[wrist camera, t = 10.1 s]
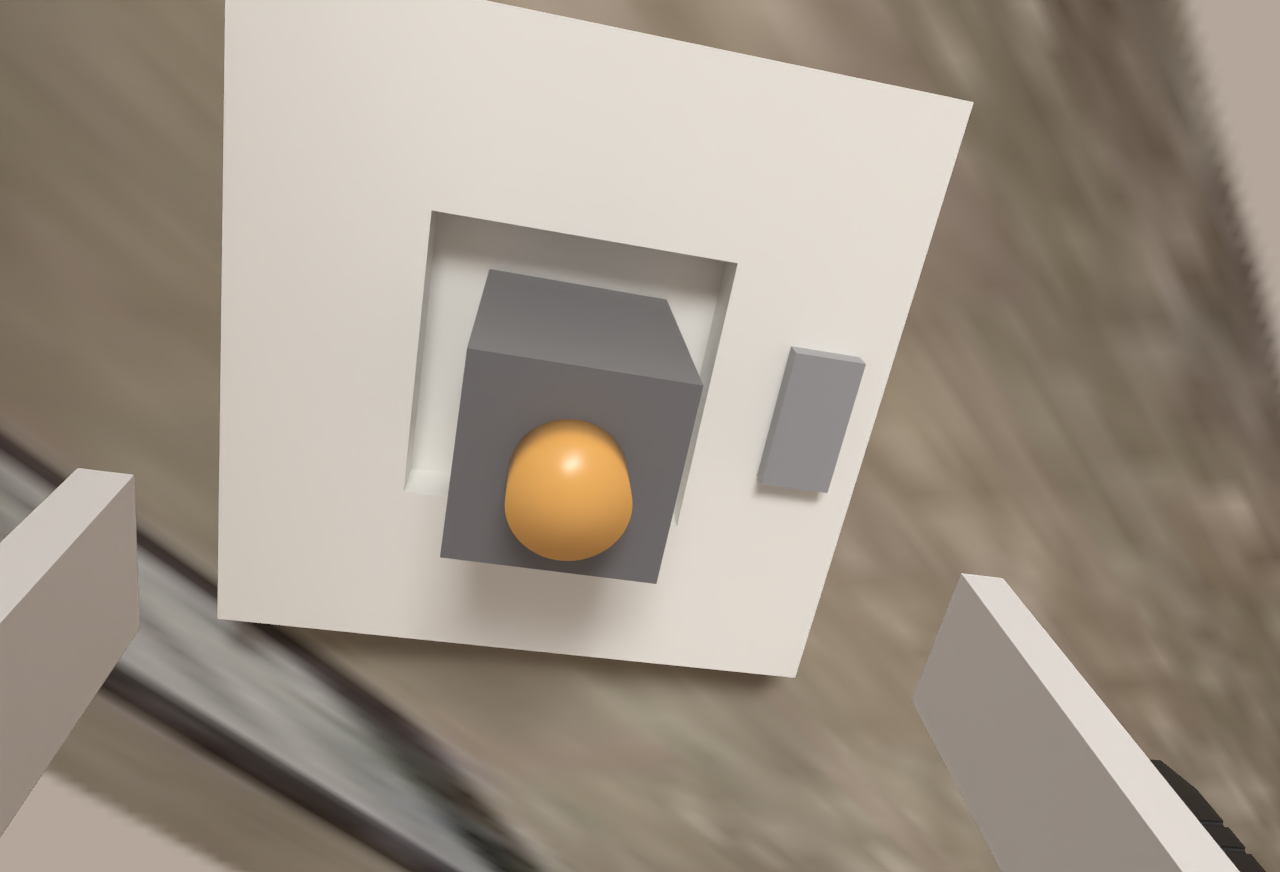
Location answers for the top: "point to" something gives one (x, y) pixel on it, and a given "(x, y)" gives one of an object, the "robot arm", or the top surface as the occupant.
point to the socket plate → (563, 251)
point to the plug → (570, 430)
